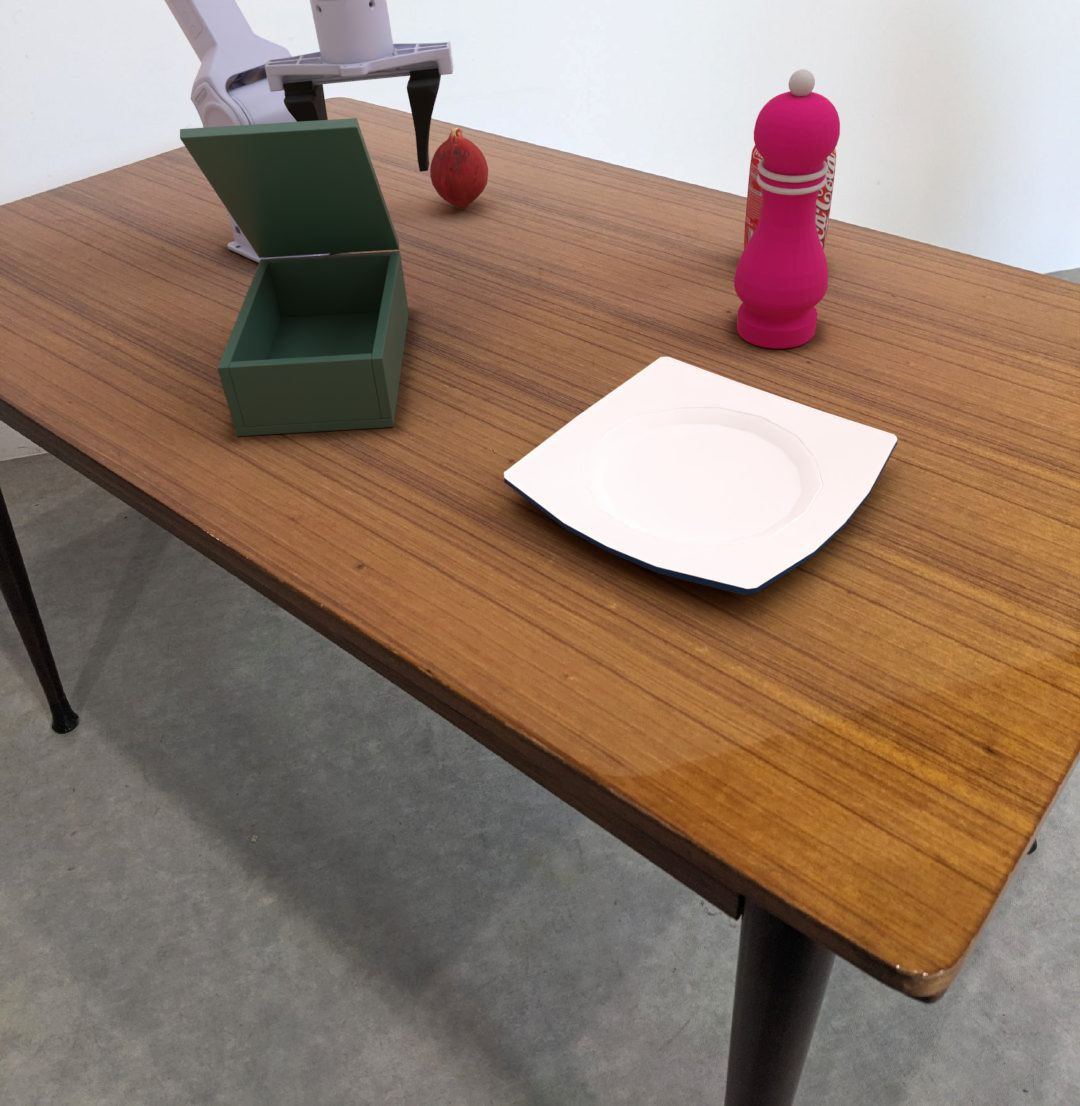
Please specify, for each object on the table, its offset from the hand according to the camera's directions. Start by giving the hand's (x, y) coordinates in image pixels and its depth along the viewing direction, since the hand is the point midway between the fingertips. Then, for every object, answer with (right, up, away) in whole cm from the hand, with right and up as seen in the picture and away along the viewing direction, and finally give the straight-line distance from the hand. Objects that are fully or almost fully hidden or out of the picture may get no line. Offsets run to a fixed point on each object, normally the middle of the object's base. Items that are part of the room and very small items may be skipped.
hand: (379, 171), depth 88 cm
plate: (+24, -28, -18) cm, 41 cm away
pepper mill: (+33, -14, -3) cm, 36 cm away
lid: (-4, -6, -11) cm, 13 cm away
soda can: (+35, -7, +6) cm, 36 cm away
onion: (+6, +3, +20) cm, 21 cm away
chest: (-3, -17, -4) cm, 18 cm away
